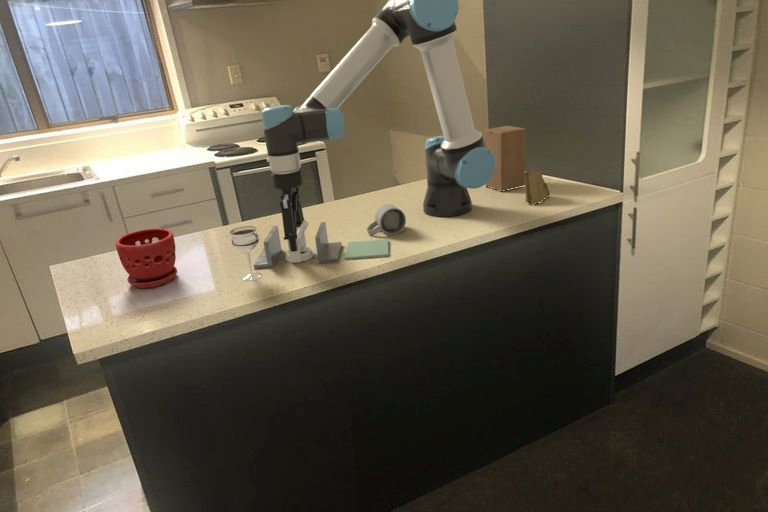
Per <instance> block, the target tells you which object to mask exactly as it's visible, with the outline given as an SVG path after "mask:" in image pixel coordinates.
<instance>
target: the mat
mask: <svg viewBox="0 0 768 512" xmlns="http://www.w3.org/2000/svg"><path fill="white" fill-rule="evenodd" d="M384 256H386V257H389V239H388V238H386V239H375V240H373V239H372V240H371V239H370V240H361V241H349V242H347V247H346V252H345V255H344V259H345V260H357V258H359V259H370V258H369V257H373V258H385V257H384Z"/></svg>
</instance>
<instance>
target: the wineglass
mask: <svg viewBox="0 0 768 512" xmlns="http://www.w3.org/2000/svg"><path fill="white" fill-rule="evenodd" d="M257 230H258V227H257V226H255V225H246V226H245V225H243V226H238V227H236V228H232V229H230V230H229V232H228V234H229V236H230V238H229V241H230V244H231V245H232V247H233V249H236V251H239V252H243V253H244V254H246V255H245V256H246V259H247V264H248V268H249V273H246V274H244V275H243V276H242V277H241V280H242V281H246V282H250V281H251V282H252V281H255V280H258V279H261V278H262V276H263V273H261V272H258V271H257V272H256V271H255V272H254V271H253V270H252V262H251V256H250V254H251V251H253V250H254V249H255V248H256V247H257V246H258V244H259V241H260V234H259V233H258V232H257Z"/></svg>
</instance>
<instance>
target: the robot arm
mask: <svg viewBox="0 0 768 512" xmlns="http://www.w3.org/2000/svg"><path fill="white" fill-rule="evenodd" d="M459 5H460V4H459V0H387V1H386V2H385V4H384V5H383V6H382V8H380V10H379V11H378V12H377V13H376V15H374V17H373V18H372V20H371V21H372V22H371V23H372V24H371V26H370V28H369V29H368V30H367V31H366V32H365V33H364V34H363V36H361V38H359V40H358V41H357V42H356V44H355V45H354V46H353V47H352V48H350V50H349V51H348V53H346V55H344V57H343V58H342V59H341V60H340V61H339V62H338V64H337V65H335V67H334V68H333V70H331V72H329V74H328V75H327V76H326V78H325V79H324V80H322V82H321V83H320V84H319V85H318V86H317V88H316V89H315V90H314V91H313V92H312V93H311V94H310V96H309V97H308V98H307V99H306V100H305V101H303V103H302V104H300V105H298V106H296V107H295V108H293V107H292V106H291V105H289V104H281V105H273V106H272V105H271V106H266V107H265V108H263V109H262V111H261V118H262V130H263V134H264V140H265V146H266V151H267V156H268V158H266V162H267V163H269V168H270V169H269V170H270V171H271V172H272V173H271V174H270V176H271V177H270V178H271V183H272V187H273V188H274V189H277V190H281V194H280V199H279V206H280V208H281V209H280V210H281V217H282V225H283V233H284V234H283V235H284V237H283V240H284V241H286V240H287V245H288V246H287V247H288V250H289V253H290V259H291V262H290V263H291V264H292V263H293V264H295V263H302V262H303V261H302V258H301V254H302V252H301V251H300V244H299V238H298V237H297V231H298V229H299V228H300V226H301V224H302V223H303V221H304V220H305V218H304V213H303V212H304V211H303V206H302V202H301V195H300V188H299V187H301V186H302V185H303V184H304V180H303V171H302V170H301V169H300V168H301V167H302V165H301V163H302V162H301V158H300V156H301V155H300V151H299V145H302V144H309V143H315V142H317V143H318V142H323V141H333V140H336V139H341V138H343V136H344V135H345V131H346V130H345V129H346V127H345V118H344V115H343V112H342V110H341V109H339V108H340V107H341V105H342V104H343V103H344V102H345V101H346V100H347V99H348V98H349V97H350V95H351V94H352V93H353V92H354V91H355V90H356V89H357V87H358V86H360V84H361V83H362V82H363V80H364V79H366V77H367V76H369V74H370V73H371V72H372V70H374V69H375V67H376V66H377V65H378V64H379V63H380V62H381V60H383V58H384V57H385V56H386V55H387V54H388V52H389V51H390V50H391V49H392V48H393V47H394V48H395V47H399V46H400V45H401V44H402V43H403V41H405V40H406V39H407V38H408V37H409V38H410V42H411V44H412V47H414V48H416V49H418V50H419V51H420V55H421V58H422V61H423V66H424V69H425V73H426V76H427V81H428V84H429V87H430V91H431V95H432V99H433V102H434V106H435V110H436V112H437V117H438V121H439V123H440V124H439V125H440V129H441V131H442V132H441V133H442V135H437V136H432V137H429V138H427V139H426V140H425V143H424V144H425V146H424V151H425V163H426V165H425V167H426V180H427V188H426V191H425V196H424V199H423V203H422V207H423V209H422V210H423V212H424V213H425V214H426V215H428V216H434V217H455V216H461V215H464V214H468V213H469V212H471V211H472V209H473V204H472V201H473V200H472V198H471V195H470V193H469V191H468V189H470V190H471V189H478V188H482V187H483V186H484V187H485V184H486V183H487V182H488V181H489V180H490V179H491V177H492V175H493V174H494V172H495V168H496V159H495V156H494V154H493V153H492V152H491V151H490V150H489V149H487V148H485V144H484V136H483V134H482V132H480V131H479V130H478V129H476V127H475V125H474V124H475V123H474V120H473V116H472V112H471V108H470V107H471V106H470V104H469V100H468V96H467V92H466V89H465V87H466V86H465V85H464V80H463V76H462V72H461V68H460V64H459V60H458V56H457V51H456V47H455V42H454V37H455V36H456V34H457V31H458V29H457V24H456V19H457V15H458V14H459V10H460V9H459V7H460V6H459ZM300 243H301V245H302V246H301V247H307V243H306V234H305V233H304V234H303V236H302V237H301V239H300Z"/></svg>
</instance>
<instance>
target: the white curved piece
mask: <svg viewBox="0 0 768 512" xmlns="http://www.w3.org/2000/svg"><path fill="white" fill-rule="evenodd" d="M308 227H309V221H308V220H306V219H304V221H303V223H302V224H301V226H300V228H299V229H298V231H297V237H298V238H299V244H300V251H301V258H302V262H304V261H308V260H310V259H312V258H313V257H314V256H315V253H314V251H313V250H312V248H310V247H308V246H306V247H301V246H302V245H301V243H300V239H301V237H302V236H303V234H305V233H306V230H307V229H308ZM302 252H303V253H302ZM284 260H285V262H289V263H291V259H290V253H289V249H288V250H287V251H286V253H285V255H284Z"/></svg>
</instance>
